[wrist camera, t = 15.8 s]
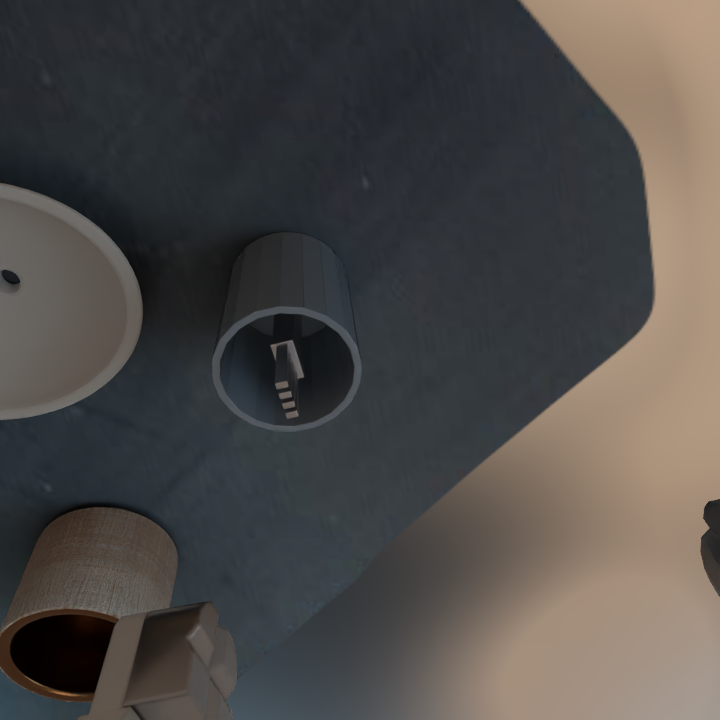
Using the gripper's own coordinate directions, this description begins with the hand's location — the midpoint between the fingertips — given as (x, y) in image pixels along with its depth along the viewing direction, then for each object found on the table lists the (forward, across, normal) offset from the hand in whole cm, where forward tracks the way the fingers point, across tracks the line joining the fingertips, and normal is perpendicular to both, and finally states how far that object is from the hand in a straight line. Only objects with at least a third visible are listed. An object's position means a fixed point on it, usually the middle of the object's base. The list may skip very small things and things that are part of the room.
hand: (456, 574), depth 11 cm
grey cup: (+31, +6, +9) cm, 33 cm away
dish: (+31, +22, +4) cm, 38 cm away
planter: (+31, +26, +28) cm, 49 cm away
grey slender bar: (+30, +6, +9) cm, 32 cm away
